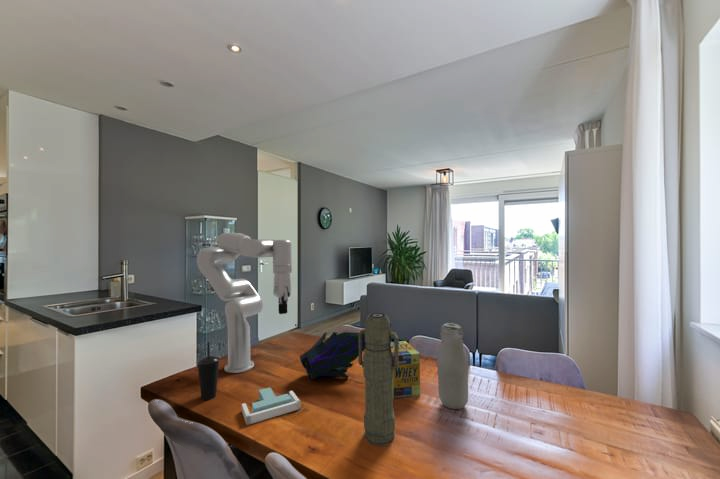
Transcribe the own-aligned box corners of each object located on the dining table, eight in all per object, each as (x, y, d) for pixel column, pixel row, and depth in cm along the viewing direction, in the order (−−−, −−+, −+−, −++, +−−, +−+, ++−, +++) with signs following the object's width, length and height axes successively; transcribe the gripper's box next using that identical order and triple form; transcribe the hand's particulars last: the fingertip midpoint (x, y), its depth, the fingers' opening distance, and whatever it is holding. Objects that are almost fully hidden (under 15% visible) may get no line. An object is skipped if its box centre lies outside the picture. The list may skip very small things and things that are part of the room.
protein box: (393, 399, 108) (392, 355, 109) (381, 380, 124) (381, 342, 124) (421, 396, 111) (420, 353, 111) (406, 377, 126) (405, 340, 126)
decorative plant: (309, 394, 131) (368, 363, 144) (319, 397, 109) (389, 360, 121) (292, 348, 137) (351, 322, 149) (299, 341, 115) (367, 311, 127)
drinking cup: (210, 403, 108) (210, 346, 108) (192, 401, 109) (191, 345, 110) (224, 392, 115) (224, 339, 116) (206, 390, 117) (206, 338, 117)
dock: (241, 411, 102) (241, 403, 102) (292, 397, 111) (292, 390, 111) (246, 425, 94) (246, 417, 94) (300, 408, 103) (300, 401, 103)
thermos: (399, 448, 83) (396, 319, 83) (356, 443, 85) (354, 317, 85) (401, 428, 91) (399, 312, 92) (362, 424, 94) (361, 310, 94)
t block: (247, 402, 108) (247, 393, 108) (281, 393, 114) (281, 384, 114) (254, 419, 97) (254, 408, 97) (291, 408, 103) (290, 398, 103)
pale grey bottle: (468, 401, 107) (466, 320, 107) (468, 417, 97) (467, 328, 97) (439, 396, 110) (438, 319, 110) (436, 411, 100) (435, 326, 100)
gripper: (268, 268, 131) (269, 311, 131) (278, 271, 119) (278, 318, 118) (286, 267, 135) (286, 309, 135) (296, 270, 122) (297, 315, 122)
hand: (282, 313), depth 127 cm, fingers closed
